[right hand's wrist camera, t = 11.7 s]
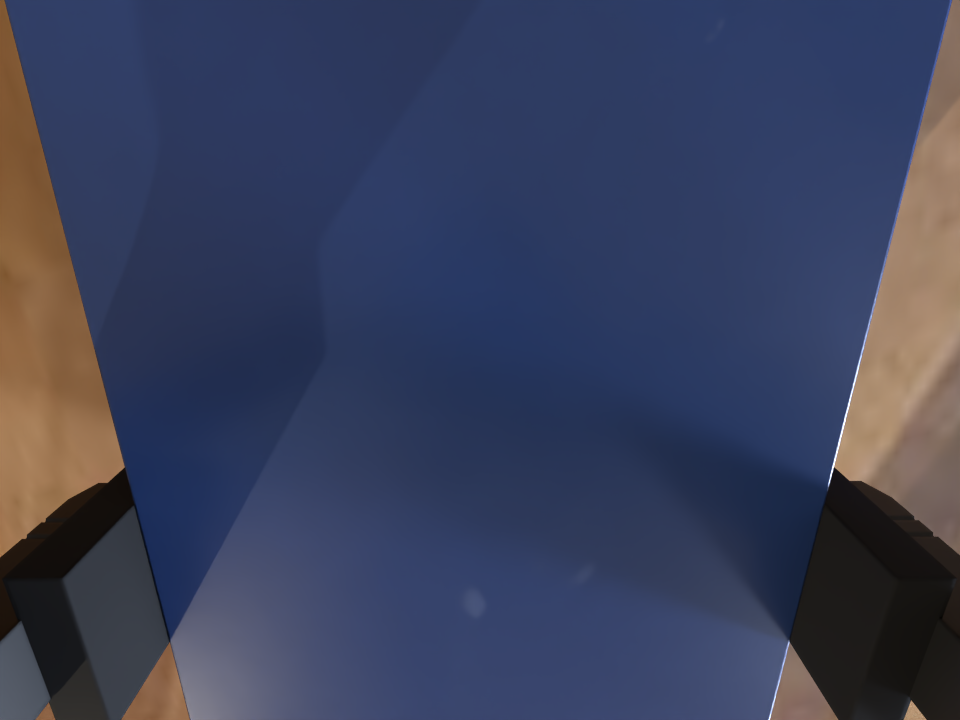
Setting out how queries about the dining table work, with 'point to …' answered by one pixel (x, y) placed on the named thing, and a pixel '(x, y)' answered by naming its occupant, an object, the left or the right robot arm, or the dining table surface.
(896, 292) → the dining table surface
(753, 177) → the cabinet
